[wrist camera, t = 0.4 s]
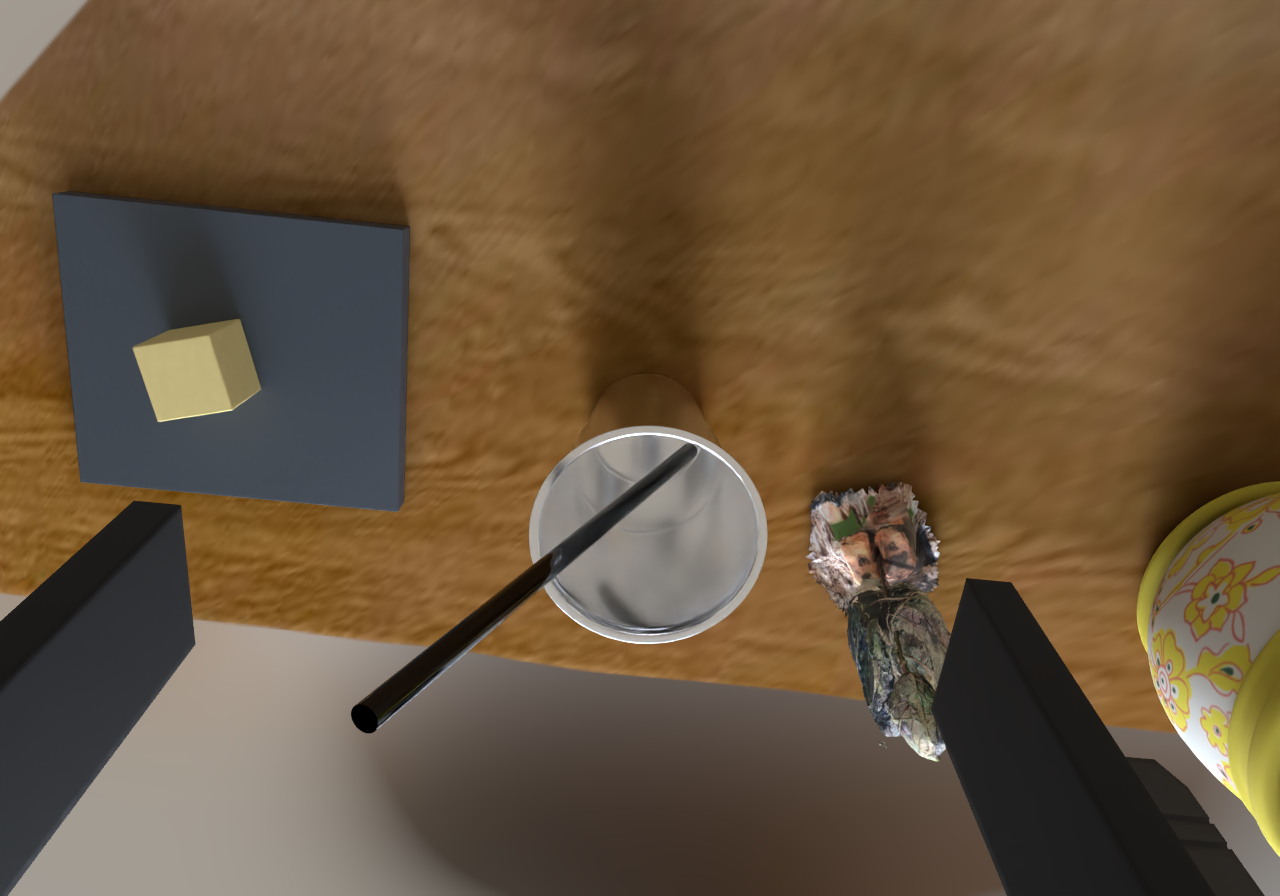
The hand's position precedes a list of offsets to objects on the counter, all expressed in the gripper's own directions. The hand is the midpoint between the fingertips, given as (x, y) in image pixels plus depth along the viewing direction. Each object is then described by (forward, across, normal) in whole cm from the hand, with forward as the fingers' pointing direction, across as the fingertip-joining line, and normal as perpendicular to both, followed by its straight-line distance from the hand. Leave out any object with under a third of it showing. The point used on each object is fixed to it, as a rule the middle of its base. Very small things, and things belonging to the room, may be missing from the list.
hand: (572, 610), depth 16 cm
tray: (+37, -20, -10) cm, 43 cm away
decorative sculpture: (+37, +16, -19) cm, 44 cm away
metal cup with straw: (+37, +2, -12) cm, 39 cm away
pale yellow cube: (+36, -22, -10) cm, 43 cm away
